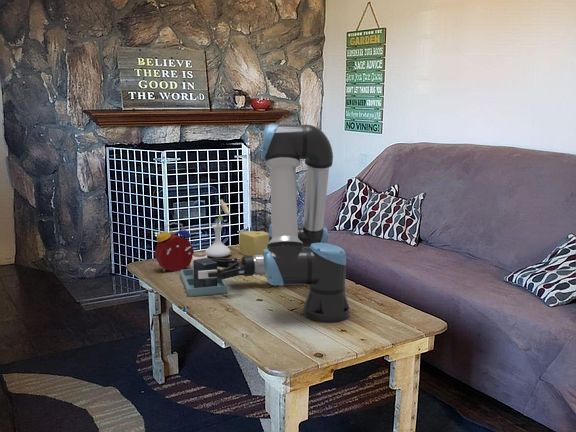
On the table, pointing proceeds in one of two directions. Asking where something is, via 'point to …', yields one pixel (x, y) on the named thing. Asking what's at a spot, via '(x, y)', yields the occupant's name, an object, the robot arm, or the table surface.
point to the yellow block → (253, 242)
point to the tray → (191, 290)
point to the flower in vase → (218, 247)
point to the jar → (198, 257)
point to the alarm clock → (173, 250)
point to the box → (202, 266)
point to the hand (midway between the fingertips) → (195, 269)
